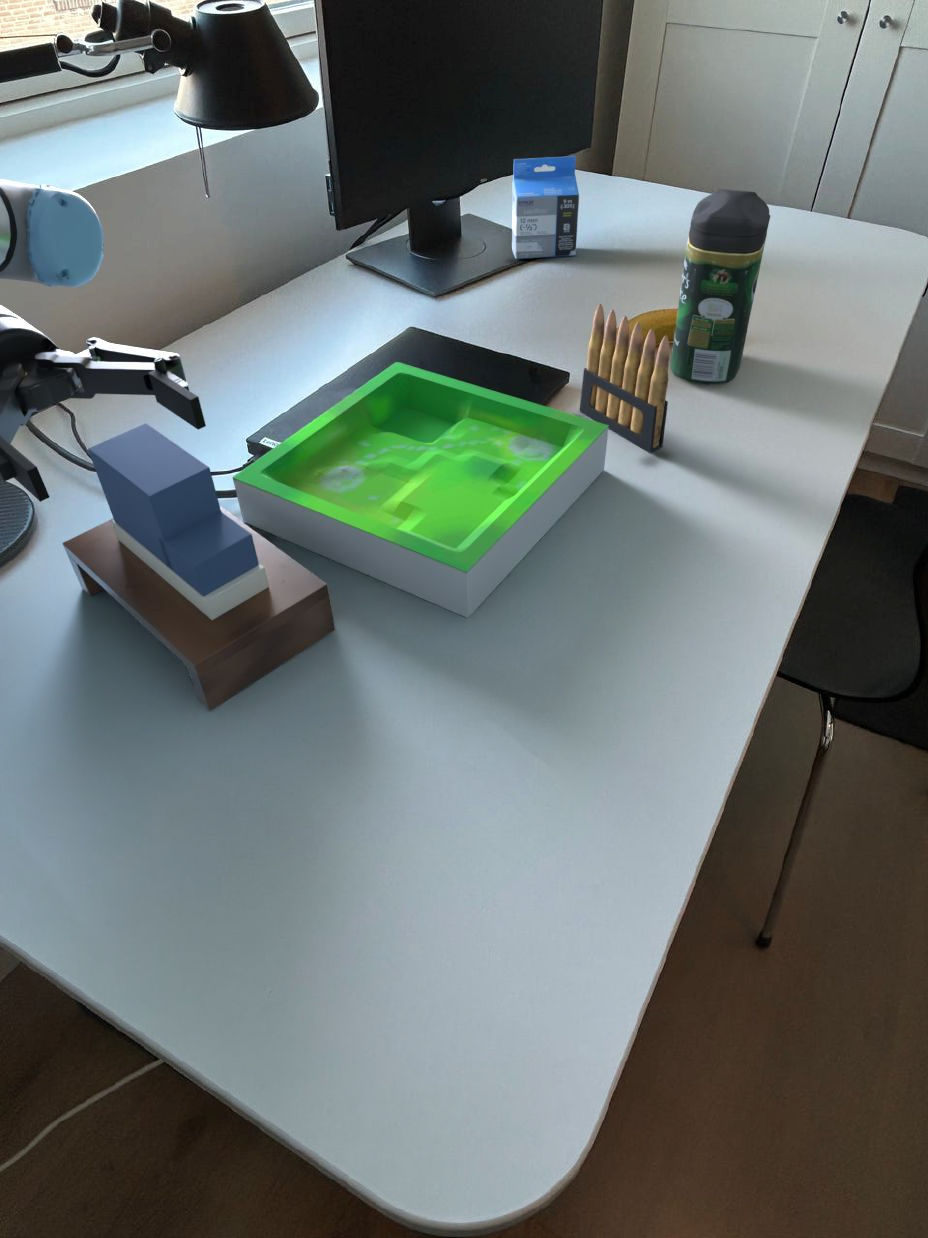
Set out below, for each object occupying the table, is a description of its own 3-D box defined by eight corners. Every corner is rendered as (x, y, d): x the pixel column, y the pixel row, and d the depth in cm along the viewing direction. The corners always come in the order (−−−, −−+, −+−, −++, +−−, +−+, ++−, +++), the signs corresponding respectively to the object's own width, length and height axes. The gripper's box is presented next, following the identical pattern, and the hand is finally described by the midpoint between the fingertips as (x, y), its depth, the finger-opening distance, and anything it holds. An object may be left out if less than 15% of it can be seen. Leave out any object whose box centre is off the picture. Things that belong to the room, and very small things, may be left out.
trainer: (212, 620, 65) (182, 524, 59) (117, 539, 73) (82, 446, 66) (269, 587, 68) (246, 491, 62) (172, 512, 75) (143, 419, 69)
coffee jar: (675, 344, 106) (700, 179, 93) (742, 352, 104) (778, 185, 91) (662, 382, 99) (687, 211, 86) (734, 392, 97) (771, 218, 84)
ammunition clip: (578, 410, 95) (586, 303, 87) (591, 405, 96) (600, 298, 88) (650, 453, 89) (666, 342, 81) (663, 446, 90) (680, 336, 81)
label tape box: (514, 260, 125) (516, 167, 117) (511, 249, 128) (512, 157, 120) (575, 257, 125) (581, 164, 117) (571, 246, 128) (576, 154, 120)
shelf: (210, 711, 65) (194, 665, 62) (81, 588, 76) (61, 542, 72) (335, 629, 71) (327, 583, 68) (200, 526, 82) (187, 481, 78)
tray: (468, 618, 72) (466, 571, 69) (243, 521, 82) (232, 477, 79) (604, 469, 87) (608, 425, 84) (399, 403, 97) (396, 361, 94)
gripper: (139, 348, 88) (264, 426, 76) (-121, 449, 75) (-17, 559, 64) (117, 273, 82) (247, 345, 71) (-166, 368, 70) (-62, 473, 59)
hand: (122, 447), depth 68 cm, fingers open, 13 cm apart
